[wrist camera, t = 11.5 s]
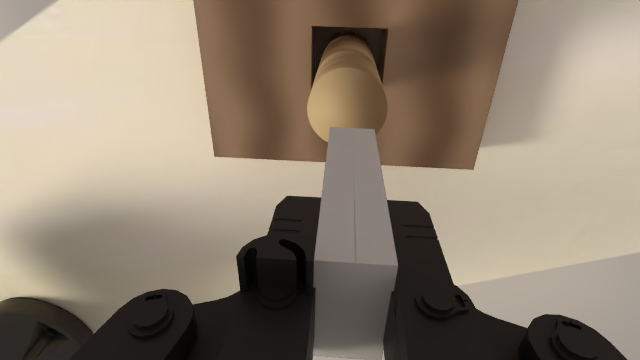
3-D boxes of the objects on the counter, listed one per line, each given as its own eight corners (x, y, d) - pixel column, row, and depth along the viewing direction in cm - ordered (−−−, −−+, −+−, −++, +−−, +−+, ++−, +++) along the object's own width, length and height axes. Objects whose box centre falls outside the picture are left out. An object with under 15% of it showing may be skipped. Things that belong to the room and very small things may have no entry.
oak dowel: (322, 79, 31) (306, 145, 19) (324, 29, 29) (307, 67, 17) (368, 81, 31) (382, 148, 19) (373, 31, 29) (392, 71, 17)
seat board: (227, 138, 34) (214, 156, 31) (205, -62, 27) (184, -68, 23) (460, 149, 33) (473, 169, 30) (508, -55, 26) (534, -60, 22)
